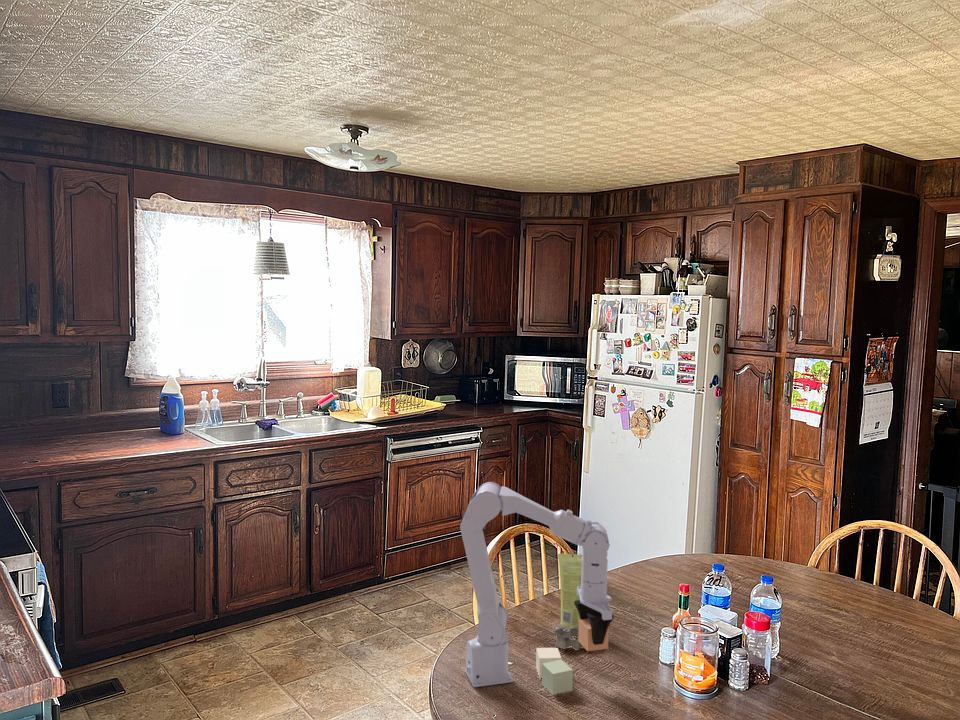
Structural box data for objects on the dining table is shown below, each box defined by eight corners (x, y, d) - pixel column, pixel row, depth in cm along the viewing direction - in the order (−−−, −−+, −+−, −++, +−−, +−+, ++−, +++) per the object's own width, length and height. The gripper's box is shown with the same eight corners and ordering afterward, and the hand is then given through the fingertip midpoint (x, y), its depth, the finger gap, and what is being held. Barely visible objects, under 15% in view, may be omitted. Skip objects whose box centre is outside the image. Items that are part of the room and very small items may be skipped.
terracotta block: (587, 651, 159) (588, 629, 159) (578, 641, 164) (578, 619, 164) (608, 648, 161) (608, 626, 160) (598, 638, 165) (599, 617, 165)
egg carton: (554, 651, 178) (554, 635, 178) (553, 637, 186) (553, 622, 186) (598, 652, 178) (598, 636, 177) (595, 638, 185) (595, 623, 185)
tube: (571, 619, 196) (572, 549, 195) (585, 625, 192) (586, 554, 191) (556, 625, 193) (557, 553, 191) (570, 631, 189) (571, 558, 187)
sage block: (552, 696, 157) (553, 674, 157) (541, 685, 162) (542, 663, 162) (572, 691, 159) (572, 669, 159) (561, 680, 164) (561, 659, 164)
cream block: (539, 679, 164) (539, 658, 164) (536, 668, 169) (536, 648, 169) (561, 679, 165) (561, 657, 164) (557, 668, 170) (557, 647, 169)
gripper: (625, 589, 155) (624, 650, 156) (596, 566, 169) (595, 622, 170) (595, 592, 153) (594, 654, 154) (568, 568, 167) (567, 625, 168)
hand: (592, 638), depth 162 cm, fingers closed on terracotta block, 5 cm apart
